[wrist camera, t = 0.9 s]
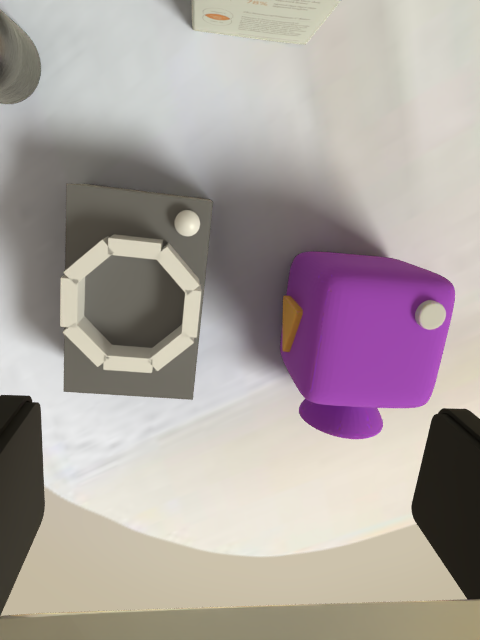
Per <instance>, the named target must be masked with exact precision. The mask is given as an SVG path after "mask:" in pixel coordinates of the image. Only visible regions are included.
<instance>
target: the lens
mask: <svg viewBox="0 0 480 640" xmlns="http://www.w3.org/2000/svg"><path fill="white" fill-rule="evenodd" d="M40 75H41V62H40V57H39V54H38V51H37V49H36V47H35V45H34V43H33V41H32V40H31V39H30V37H29V36H28V35H27V34H26V33H25V32H24V31H23V30H22V29H21V28H20V27H19V26H18V25H17V24H16V23H14V22H13V21H12V20H11V19H10V18H9V17H8V16H7V15H6V14H5V13H4V12H3V11H2V10H0V103H1V104H14V103H18V102H21V101H23V100H25V99H27V98H28V97H29V96H30V95H31V94H32V93H33V92H34V90H35V89H36V87H37V85H38V83H39V80H40Z"/></svg>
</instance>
